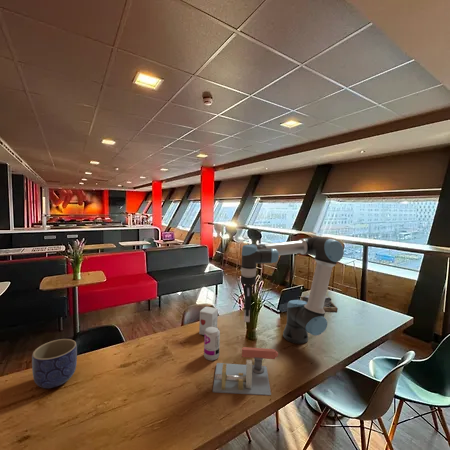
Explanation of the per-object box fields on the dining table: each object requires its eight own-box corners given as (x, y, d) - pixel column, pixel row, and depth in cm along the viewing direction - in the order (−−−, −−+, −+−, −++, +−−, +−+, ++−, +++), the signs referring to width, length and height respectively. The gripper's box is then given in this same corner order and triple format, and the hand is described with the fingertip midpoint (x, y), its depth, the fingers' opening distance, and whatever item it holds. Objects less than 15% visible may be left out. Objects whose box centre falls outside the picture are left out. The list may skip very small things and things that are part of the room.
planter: (43, 399, 100) (42, 364, 99) (26, 383, 109) (25, 350, 108) (84, 376, 114) (84, 345, 113) (66, 363, 123) (65, 334, 122)
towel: (331, 305, 206) (332, 296, 205) (317, 309, 196) (317, 300, 196) (316, 299, 219) (317, 291, 218) (302, 303, 209) (302, 294, 209)
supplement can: (207, 362, 127) (208, 334, 126) (201, 354, 134) (202, 327, 133) (221, 358, 131) (222, 331, 130) (215, 350, 138) (215, 324, 137)
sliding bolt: (251, 383, 111) (251, 360, 110) (251, 388, 108) (252, 364, 107) (214, 380, 112) (215, 357, 111) (214, 385, 109) (214, 362, 108)
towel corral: (327, 301, 218) (327, 297, 218) (337, 311, 196) (337, 308, 196) (298, 299, 219) (299, 296, 219) (305, 310, 197) (305, 306, 197)
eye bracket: (242, 381, 113) (243, 364, 112) (242, 390, 107) (243, 373, 106) (222, 379, 113) (222, 363, 113) (221, 389, 107) (221, 372, 107)
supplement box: (198, 334, 155) (199, 311, 154) (205, 327, 164) (205, 305, 162) (211, 337, 152) (212, 313, 151) (217, 330, 160) (218, 308, 159)
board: (266, 368, 124) (266, 354, 124) (271, 397, 105) (271, 381, 104) (216, 364, 126) (217, 351, 125) (212, 393, 106) (213, 377, 106)
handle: (277, 356, 122) (277, 347, 122) (278, 361, 118) (279, 353, 118) (241, 353, 123) (242, 345, 123) (242, 359, 119) (242, 351, 119)
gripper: (241, 271, 133) (239, 313, 134) (241, 279, 118) (239, 326, 120) (255, 272, 132) (253, 314, 134) (256, 280, 118) (254, 327, 119)
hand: (246, 320), depth 127 cm, fingers closed
